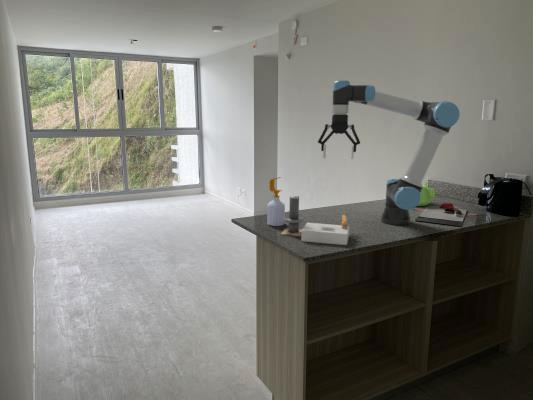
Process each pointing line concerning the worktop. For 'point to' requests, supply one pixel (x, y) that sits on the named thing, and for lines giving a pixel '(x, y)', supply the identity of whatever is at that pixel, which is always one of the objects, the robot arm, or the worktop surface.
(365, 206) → the worktop surface
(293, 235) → the cork mat
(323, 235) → the socket block
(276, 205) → the soap bottle
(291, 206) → the plug
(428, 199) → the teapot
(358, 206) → the worktop surface
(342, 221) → the clip
